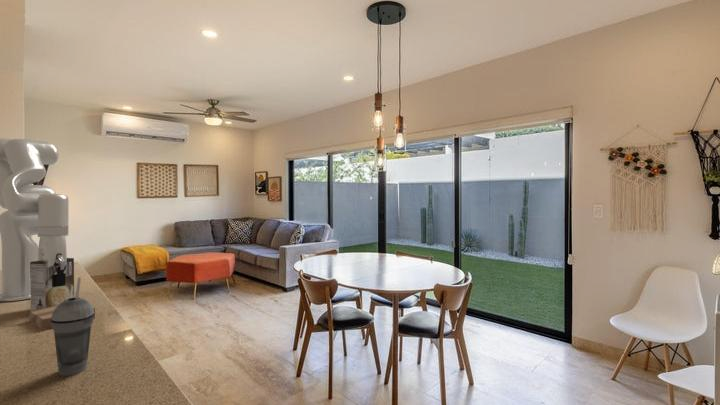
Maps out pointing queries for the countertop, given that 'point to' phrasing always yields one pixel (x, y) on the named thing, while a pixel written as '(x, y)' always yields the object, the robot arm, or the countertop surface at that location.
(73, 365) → the beverage cup
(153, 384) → the countertop surface
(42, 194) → the robot arm
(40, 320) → the walnut base
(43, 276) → the coffee box
